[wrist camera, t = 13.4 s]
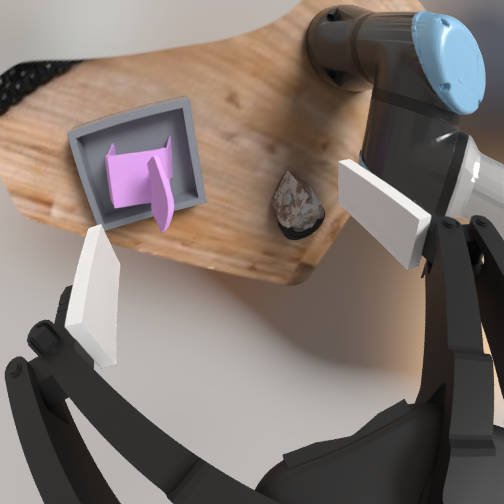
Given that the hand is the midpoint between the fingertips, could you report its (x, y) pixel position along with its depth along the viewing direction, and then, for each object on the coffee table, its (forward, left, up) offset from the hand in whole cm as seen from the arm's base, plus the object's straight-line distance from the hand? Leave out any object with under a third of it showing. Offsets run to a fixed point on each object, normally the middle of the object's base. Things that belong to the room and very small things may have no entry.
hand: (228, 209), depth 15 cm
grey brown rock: (-18, +19, -29) cm, 39 cm away
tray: (+6, +5, -29) cm, 30 cm away
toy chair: (+6, +5, -28) cm, 29 cm away
